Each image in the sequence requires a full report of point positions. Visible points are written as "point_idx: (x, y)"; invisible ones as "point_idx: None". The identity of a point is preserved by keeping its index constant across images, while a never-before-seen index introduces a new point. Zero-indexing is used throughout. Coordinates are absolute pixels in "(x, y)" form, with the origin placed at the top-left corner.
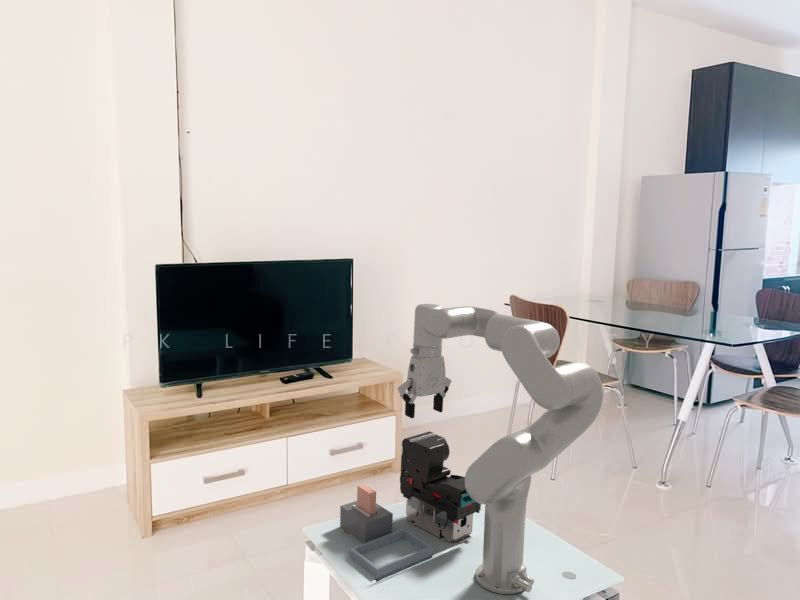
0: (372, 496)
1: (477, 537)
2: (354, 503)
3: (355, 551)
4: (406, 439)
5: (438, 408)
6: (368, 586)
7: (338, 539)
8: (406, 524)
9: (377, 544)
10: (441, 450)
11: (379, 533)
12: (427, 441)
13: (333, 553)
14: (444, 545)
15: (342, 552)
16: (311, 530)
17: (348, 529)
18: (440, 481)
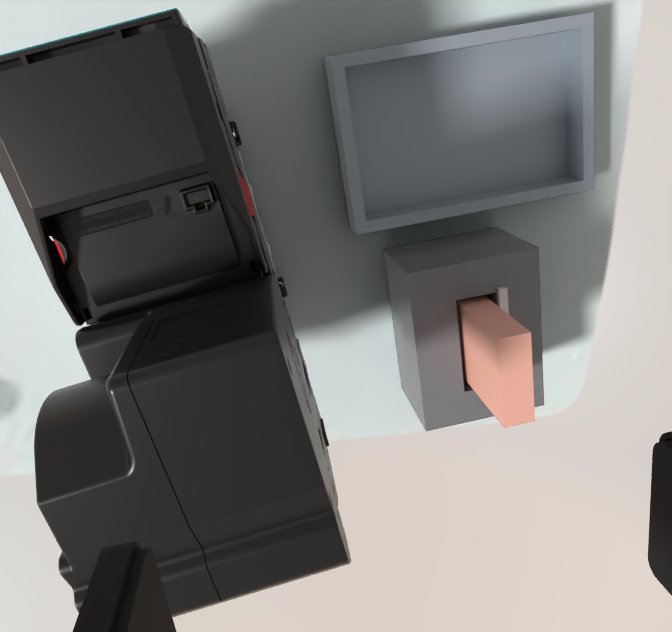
0: (510, 328)
1: None
2: None
3: (589, 163)
4: (344, 545)
5: (153, 615)
6: (606, 5)
7: None
8: None
9: (480, 196)
10: (147, 354)
11: (449, 246)
12: (216, 470)
13: (592, 243)
14: (233, 117)
15: (567, 236)
16: (577, 395)
17: None
18: (175, 282)
